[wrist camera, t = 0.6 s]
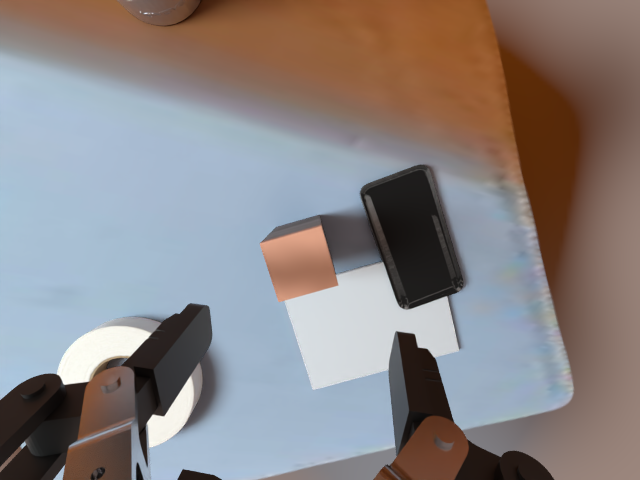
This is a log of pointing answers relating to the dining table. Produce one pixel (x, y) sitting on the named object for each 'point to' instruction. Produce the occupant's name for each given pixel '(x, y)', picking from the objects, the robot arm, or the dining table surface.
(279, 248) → the block
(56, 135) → the dining table surface
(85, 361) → the roll of tape
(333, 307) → the mat
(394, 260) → the phone
